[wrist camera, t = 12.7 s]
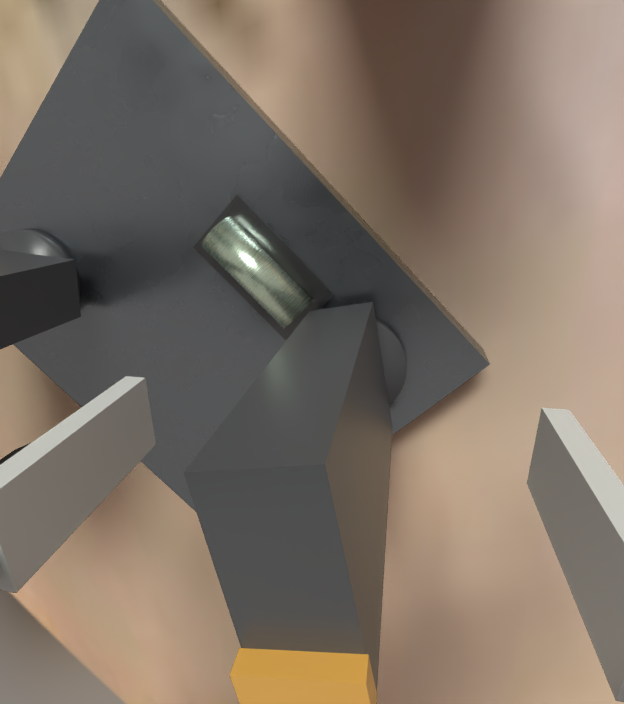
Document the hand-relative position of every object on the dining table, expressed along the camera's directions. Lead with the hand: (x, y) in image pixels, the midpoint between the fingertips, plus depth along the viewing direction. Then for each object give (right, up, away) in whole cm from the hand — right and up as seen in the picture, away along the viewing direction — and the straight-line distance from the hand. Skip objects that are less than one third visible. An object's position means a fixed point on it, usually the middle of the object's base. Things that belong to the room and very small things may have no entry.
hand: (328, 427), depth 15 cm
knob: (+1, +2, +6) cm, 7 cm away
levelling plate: (-6, +5, +9) cm, 12 cm away
